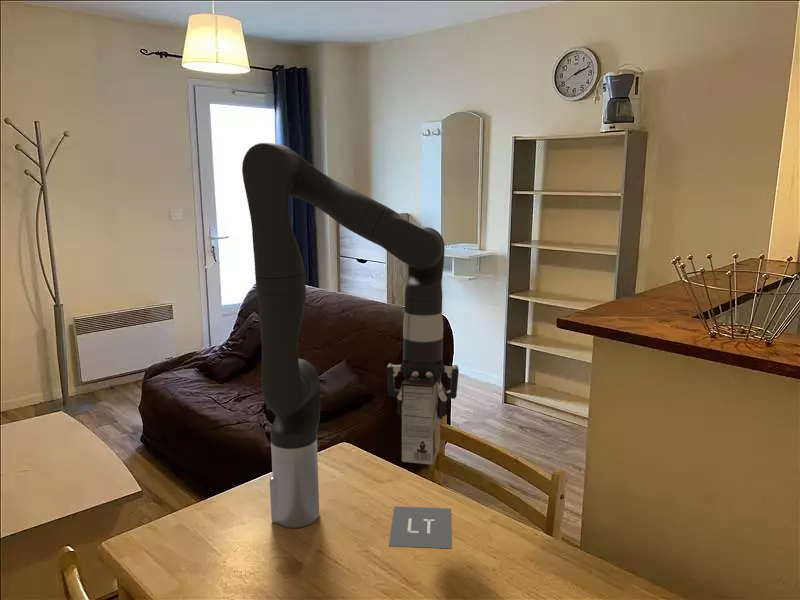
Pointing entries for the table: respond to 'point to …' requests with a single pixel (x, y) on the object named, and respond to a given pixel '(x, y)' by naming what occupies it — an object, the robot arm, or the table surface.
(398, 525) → the mat
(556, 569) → the table surface
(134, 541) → the table surface
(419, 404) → the coffee box
